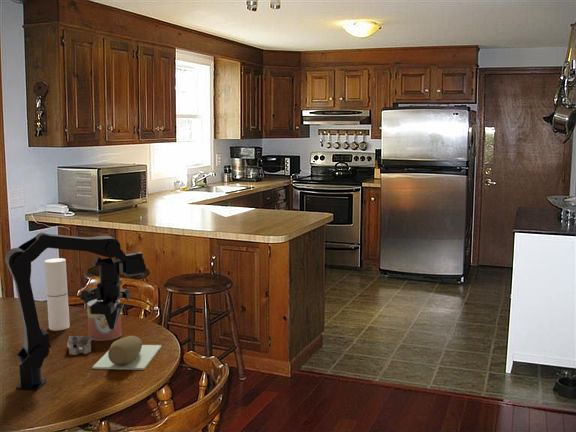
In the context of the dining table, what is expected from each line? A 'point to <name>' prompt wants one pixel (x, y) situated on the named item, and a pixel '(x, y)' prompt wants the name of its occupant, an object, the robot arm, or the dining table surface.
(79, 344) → the egg carton
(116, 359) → the tan nozzle bottle
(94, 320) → the canned food
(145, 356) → the mat
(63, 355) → the dining table surface
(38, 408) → the dining table surface
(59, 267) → the cylindrical container
